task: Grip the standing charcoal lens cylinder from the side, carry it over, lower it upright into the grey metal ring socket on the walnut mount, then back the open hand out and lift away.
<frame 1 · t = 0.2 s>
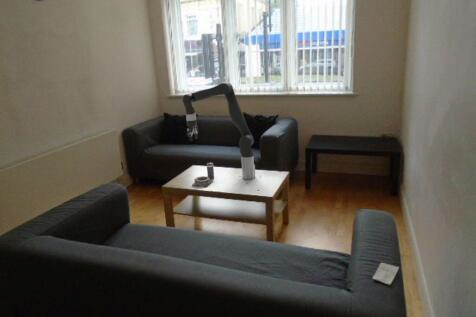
hand: (193, 140, 296), 28 cm above the table, tool pointing down, fingers open, 8 cm apart
mount: (202, 183, 280), on the table
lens: (211, 178, 291), on the table
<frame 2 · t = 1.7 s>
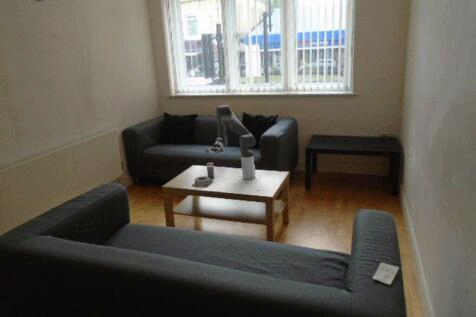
hand: (212, 152, 296), 18 cm above the table, tool horizontal, fingers open, 8 cm apart
nothing on the table moved.
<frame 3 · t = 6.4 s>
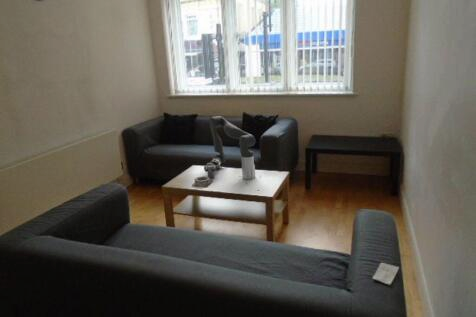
hand: (209, 170, 287), 7 cm above the table, tool horizontal, fingers closed on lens, 5 cm apart
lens: (211, 178, 291), on the table, touching gripper
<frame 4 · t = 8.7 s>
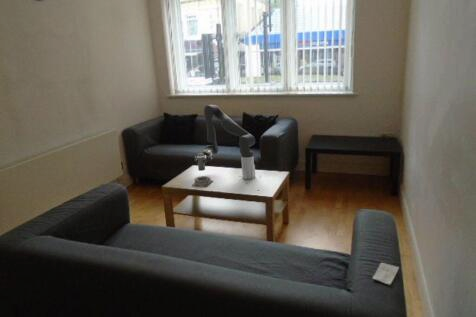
hand: (200, 161, 273), 18 cm above the table, tool horizontal, fingers closed on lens, 5 cm apart
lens: (201, 169, 278), point 11 cm above the table, touching gripper
when the fingers open (9 cm above the table, at t = 11.3 s): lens drops 1 cm, resting on mount.
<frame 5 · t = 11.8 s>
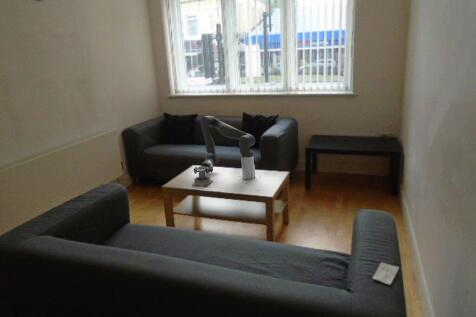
hand: (200, 172, 275), 10 cm above the table, tool horizontal, fingers open, 8 cm apart
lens: (202, 182, 279), point 1 cm above the table, touching mount
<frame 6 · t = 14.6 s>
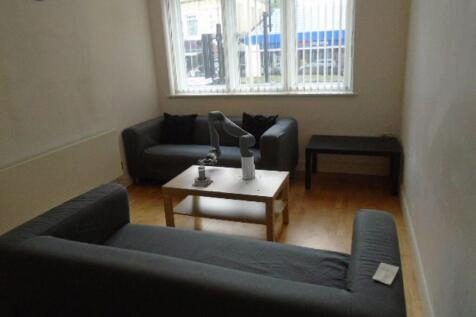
hand: (205, 164, 286), 12 cm above the table, tool horizontal, fingers open, 8 cm apart
nothing on the table moved.
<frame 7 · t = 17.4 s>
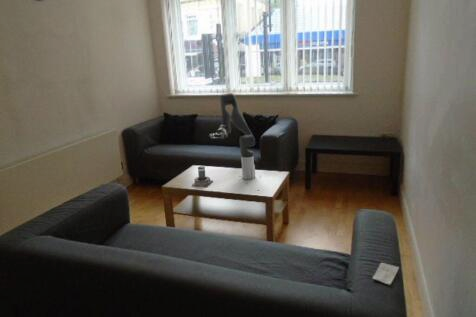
hand: (216, 137, 291), 30 cm above the table, tool horizontal, fingers open, 8 cm apart
nothing on the table moved.
at the end: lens 0.1 cm off-centre on the mount, point 1.0 cm above the mount's base; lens tilted 0°; the gripper is holding nothing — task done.
